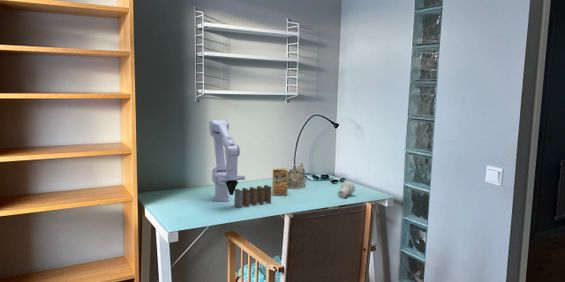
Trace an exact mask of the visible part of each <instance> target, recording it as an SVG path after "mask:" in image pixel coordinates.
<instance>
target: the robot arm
mask: <svg viewBox="0 0 565 282" xmlns="http://www.w3.org/2000/svg"><path fill="white" fill-rule="evenodd" d="M229 128H230V123H229V120H228V119H211V120H209V129H208V130H209V135H210V137H213V145H214V146H213V147H214V155H215V162H216V163H215V164H216V166H215V167H214V168H213V169H212V171H211V173H212V174H211V179H212V183H213V184H214V198H213V201H214V202H229V199H230V196H233V195H235V189H237V188H236V187H237V186H238V184H239V181H245V180H246V176H245V175H238V164H239V163H238V162H239V161H238V157H240V146H239V144H236V143H235V140H234V138H233V137H232V136H231V135H230V133H229Z"/></svg>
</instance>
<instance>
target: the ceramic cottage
mask: <svg viewBox="0 0 565 282" xmlns="http://www.w3.org/2000/svg"><path fill="white" fill-rule="evenodd" d="M305 172H306V170H305V167H304V163H302V162H301V163H300V165H299V166H297V165H296V164H293V168H291V169H288V188H287V189H290V190H298V188H299V189H303V187H304V188H306V178H305Z"/></svg>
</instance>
